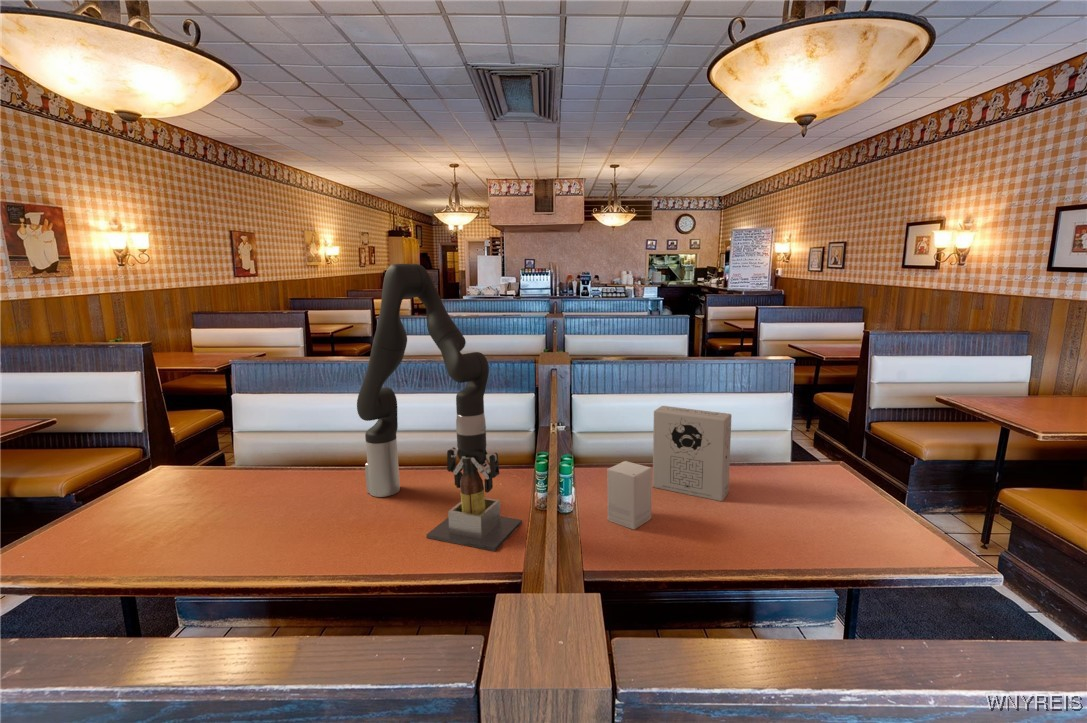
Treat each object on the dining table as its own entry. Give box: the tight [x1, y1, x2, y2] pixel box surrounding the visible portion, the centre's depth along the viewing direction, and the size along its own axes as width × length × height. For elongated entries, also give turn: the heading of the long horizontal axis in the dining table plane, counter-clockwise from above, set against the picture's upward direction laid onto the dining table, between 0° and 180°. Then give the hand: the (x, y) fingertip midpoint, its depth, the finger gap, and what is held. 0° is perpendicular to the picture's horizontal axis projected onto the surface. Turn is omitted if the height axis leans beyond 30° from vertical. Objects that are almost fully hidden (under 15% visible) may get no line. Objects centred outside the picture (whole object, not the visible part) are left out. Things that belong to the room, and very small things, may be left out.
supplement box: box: [606, 460, 653, 531], centre depth 146 cm, size 9×9×15 cm
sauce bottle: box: [459, 456, 486, 515], centre depth 141 cm, size 6×6×20 cm
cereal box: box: [652, 405, 732, 502], centre depth 164 cm, size 22×8×25 cm, turn 58°
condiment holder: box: [426, 497, 523, 552], centre depth 142 cm, size 20×16×7 cm
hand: (473, 489), depth 140 cm, fingers open, 8 cm apart
